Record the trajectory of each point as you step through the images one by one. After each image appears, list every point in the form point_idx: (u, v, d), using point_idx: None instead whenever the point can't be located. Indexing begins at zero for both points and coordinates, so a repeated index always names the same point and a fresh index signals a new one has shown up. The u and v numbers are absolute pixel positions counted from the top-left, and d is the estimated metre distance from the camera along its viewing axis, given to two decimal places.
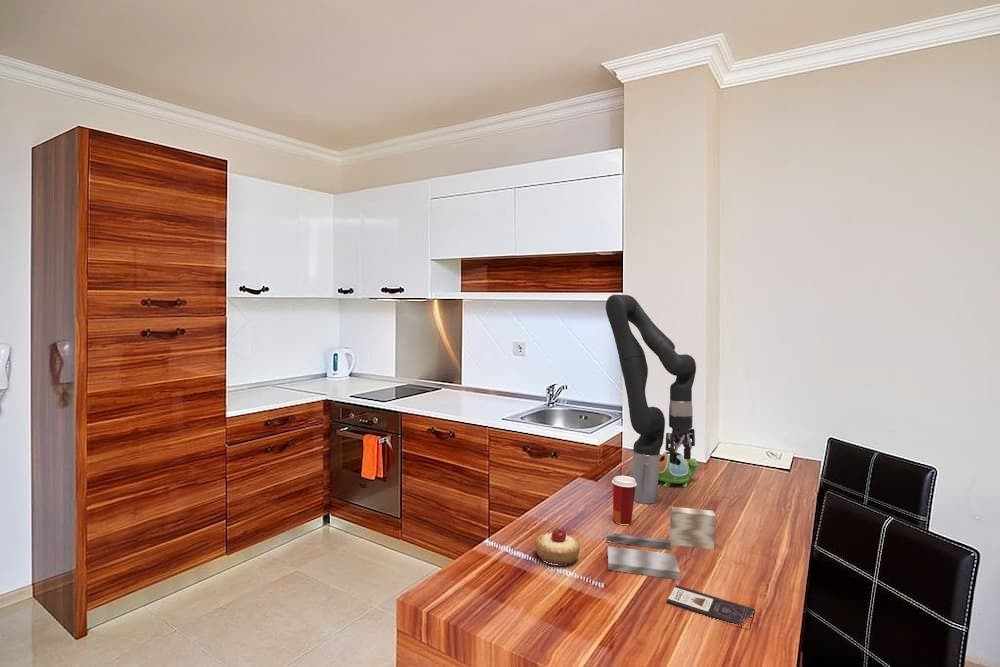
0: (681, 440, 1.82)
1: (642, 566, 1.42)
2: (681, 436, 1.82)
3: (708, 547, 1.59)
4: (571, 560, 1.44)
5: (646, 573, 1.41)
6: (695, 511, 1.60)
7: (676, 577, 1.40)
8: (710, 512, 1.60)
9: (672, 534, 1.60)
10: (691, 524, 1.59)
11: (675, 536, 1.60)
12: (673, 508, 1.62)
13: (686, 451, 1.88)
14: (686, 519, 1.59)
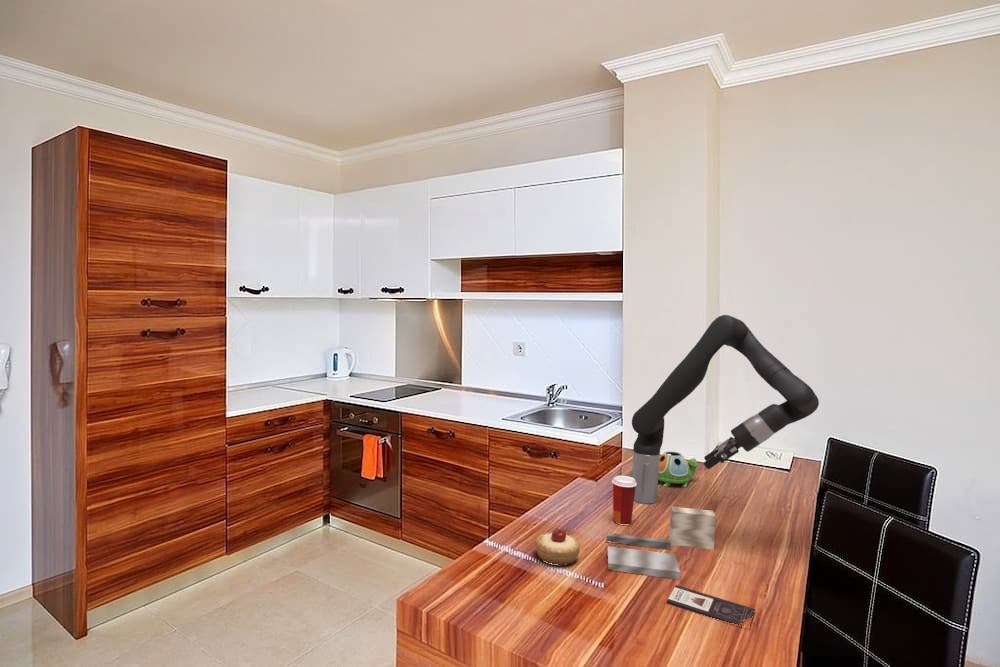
0: None
1: (642, 566, 1.42)
2: None
3: (708, 547, 1.59)
4: (571, 560, 1.44)
5: (646, 573, 1.41)
6: (695, 511, 1.60)
7: (676, 577, 1.40)
8: (710, 512, 1.60)
9: (672, 534, 1.60)
10: (691, 524, 1.59)
11: (675, 536, 1.60)
12: (673, 508, 1.62)
13: (713, 455, 1.66)
14: (686, 519, 1.59)
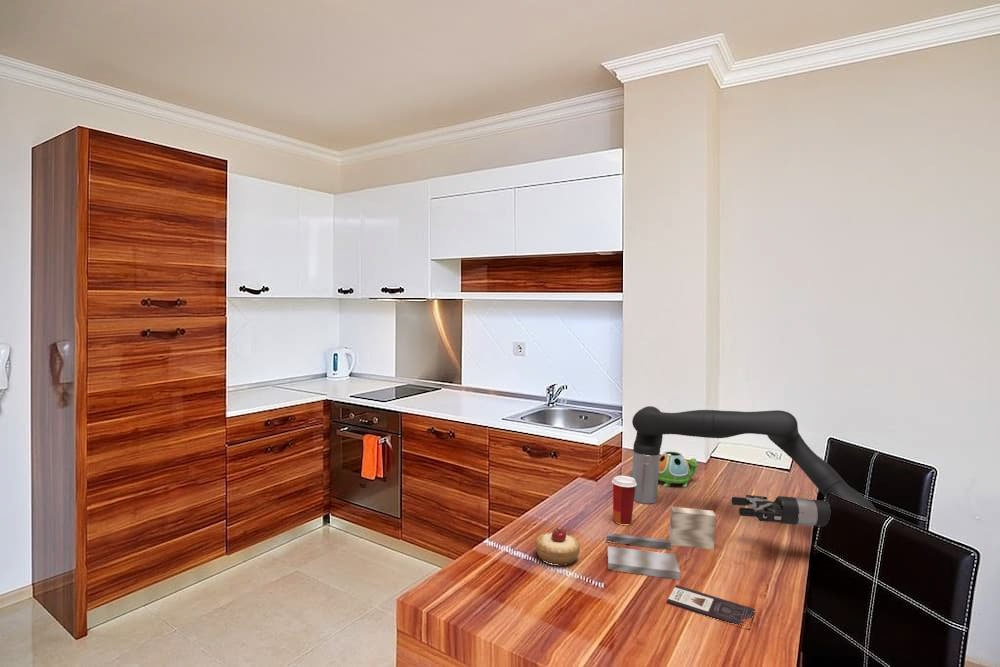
0: None
1: (642, 566, 1.42)
2: None
3: (708, 547, 1.59)
4: (571, 560, 1.44)
5: (646, 573, 1.41)
6: (695, 511, 1.60)
7: (676, 577, 1.40)
8: (710, 512, 1.60)
9: (672, 534, 1.60)
10: (691, 524, 1.59)
11: (675, 536, 1.60)
12: (673, 508, 1.62)
13: (742, 501, 1.62)
14: (686, 519, 1.59)
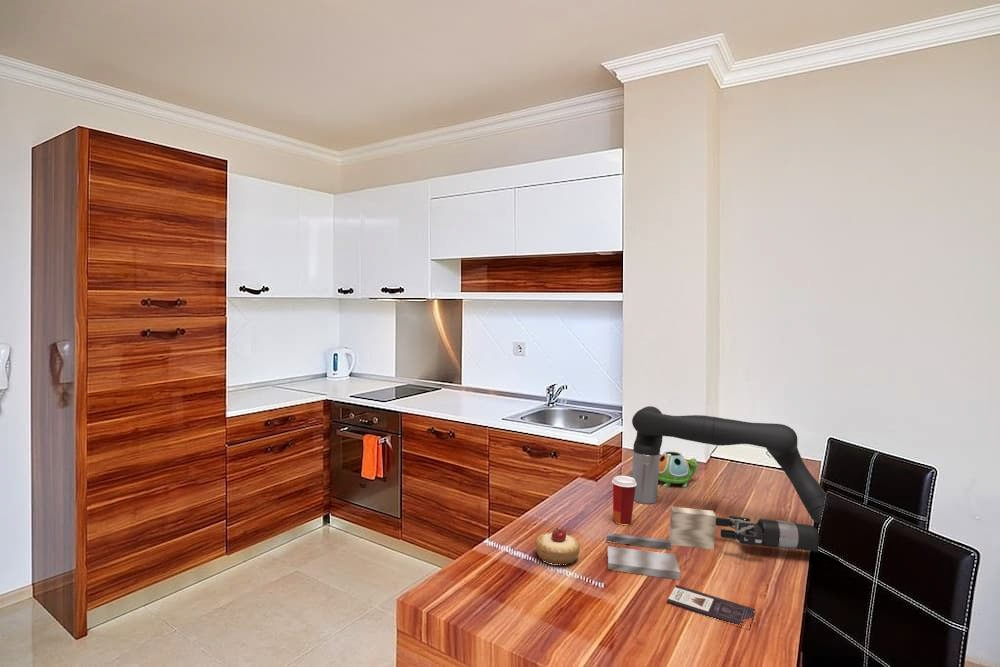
0: None
1: (642, 566, 1.42)
2: None
3: (708, 547, 1.59)
4: (571, 560, 1.45)
5: (646, 573, 1.41)
6: (695, 511, 1.60)
7: (676, 577, 1.40)
8: (710, 512, 1.60)
9: (672, 534, 1.60)
10: (691, 524, 1.59)
11: (675, 536, 1.60)
12: (673, 508, 1.62)
13: (724, 522, 1.63)
14: (686, 519, 1.59)
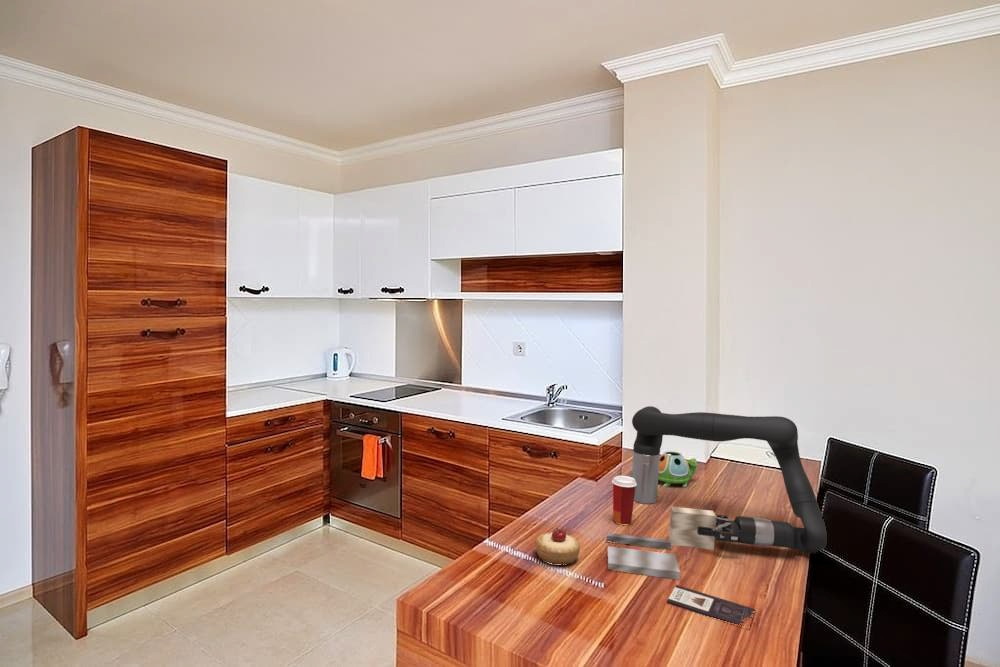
0: (723, 536, 1.57)
1: (642, 566, 1.42)
2: None
3: (708, 547, 1.59)
4: (571, 560, 1.45)
5: (646, 573, 1.41)
6: (695, 511, 1.60)
7: (676, 577, 1.40)
8: (710, 512, 1.60)
9: (672, 534, 1.60)
10: (691, 524, 1.59)
11: (675, 536, 1.60)
12: (673, 508, 1.62)
13: None
14: (686, 519, 1.59)
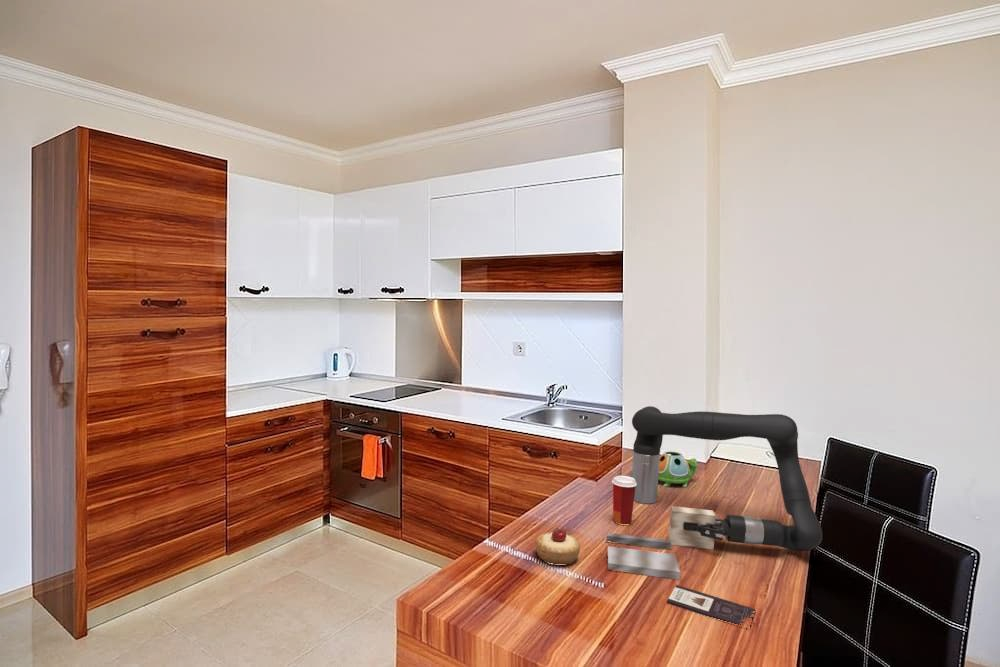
0: None
1: (642, 566, 1.42)
2: None
3: (708, 547, 1.59)
4: (571, 560, 1.45)
5: (646, 573, 1.41)
6: (695, 511, 1.60)
7: (676, 577, 1.40)
8: (709, 512, 1.60)
9: (672, 534, 1.60)
10: None
11: (675, 535, 1.60)
12: (673, 508, 1.62)
13: None
14: (686, 519, 1.59)
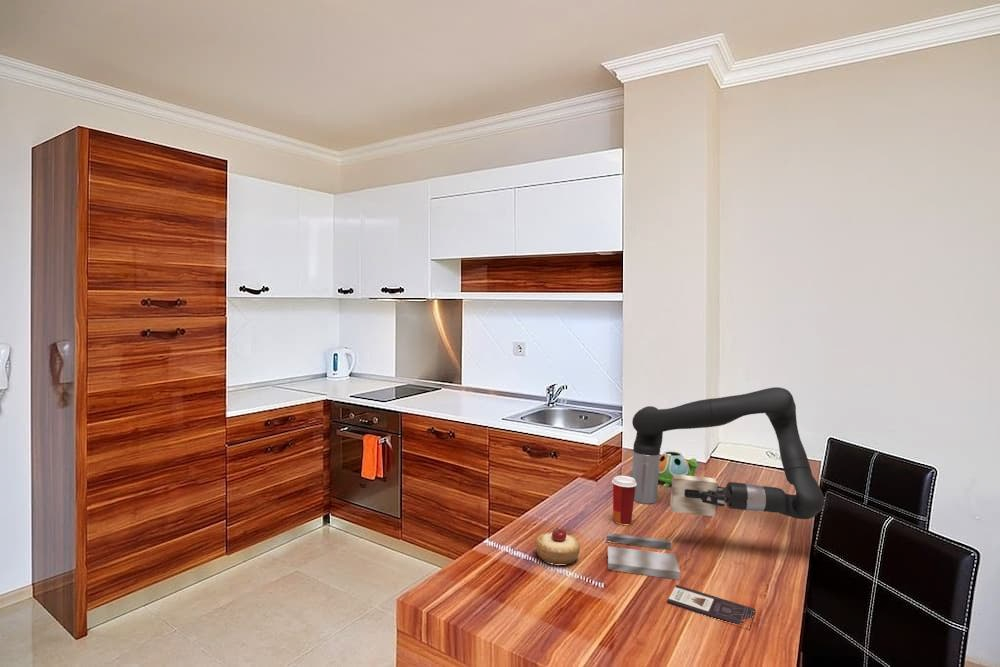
0: None
1: (642, 566, 1.42)
2: None
3: (709, 514, 1.58)
4: (571, 560, 1.45)
5: (646, 573, 1.41)
6: (696, 478, 1.60)
7: (676, 577, 1.40)
8: (711, 479, 1.60)
9: (673, 501, 1.60)
10: None
11: (676, 503, 1.59)
12: (674, 475, 1.61)
13: None
14: (687, 486, 1.59)
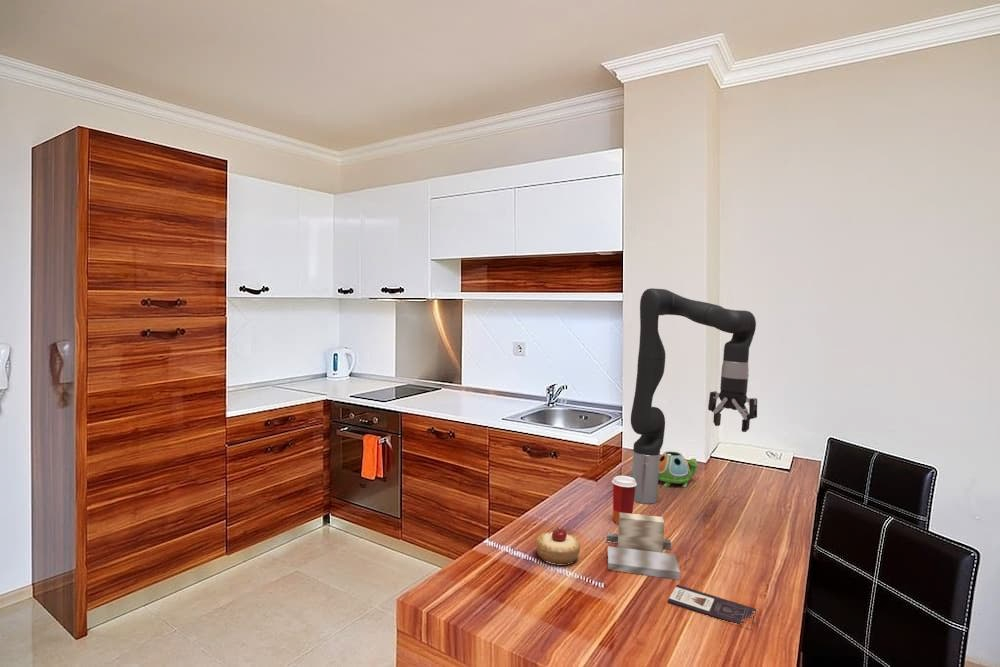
0: None
1: (642, 566, 1.42)
2: None
3: None
4: (571, 559, 1.45)
5: (646, 573, 1.41)
6: (643, 518, 1.54)
7: (676, 577, 1.40)
8: (658, 518, 1.54)
9: (619, 541, 1.54)
10: (639, 531, 1.53)
11: (622, 543, 1.54)
12: (621, 514, 1.56)
13: (718, 417, 1.70)
14: (633, 526, 1.53)
